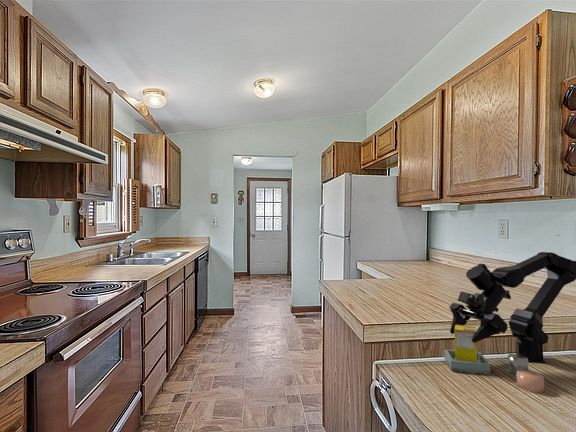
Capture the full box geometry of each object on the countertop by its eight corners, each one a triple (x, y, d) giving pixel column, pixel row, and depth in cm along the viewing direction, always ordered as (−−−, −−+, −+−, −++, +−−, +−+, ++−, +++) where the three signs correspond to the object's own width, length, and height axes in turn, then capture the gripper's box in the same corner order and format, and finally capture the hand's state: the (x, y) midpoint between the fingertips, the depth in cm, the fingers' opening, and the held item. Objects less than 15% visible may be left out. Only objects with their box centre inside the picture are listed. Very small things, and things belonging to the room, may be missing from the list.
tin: (524, 369, 102) (523, 354, 102) (531, 376, 97) (531, 360, 98) (506, 368, 104) (505, 353, 104) (512, 374, 99) (511, 359, 99)
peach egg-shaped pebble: (538, 384, 92) (537, 371, 92) (548, 394, 86) (548, 380, 87) (513, 382, 94) (512, 369, 94) (522, 392, 88) (521, 378, 88)
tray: (480, 361, 109) (479, 352, 109) (490, 374, 99) (490, 364, 99) (444, 358, 112) (444, 349, 112) (451, 371, 101) (450, 360, 102)
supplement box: (477, 361, 106) (476, 326, 107) (477, 367, 101) (476, 331, 102) (456, 357, 109) (455, 324, 110) (455, 364, 104) (454, 328, 105)
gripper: (452, 279, 117) (426, 313, 113) (498, 287, 98) (467, 328, 95) (472, 300, 118) (446, 335, 115) (520, 312, 100) (491, 353, 97)
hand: (461, 337), depth 105 cm, fingers open, 9 cm apart
